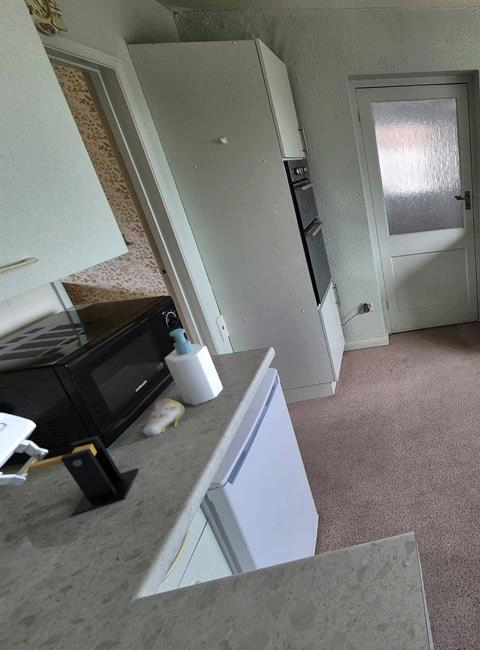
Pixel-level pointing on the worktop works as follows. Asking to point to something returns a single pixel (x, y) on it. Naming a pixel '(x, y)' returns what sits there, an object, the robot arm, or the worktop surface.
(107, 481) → the bracket
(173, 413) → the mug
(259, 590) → the worktop surface
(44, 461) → the tap lever
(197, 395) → the soap bottle
